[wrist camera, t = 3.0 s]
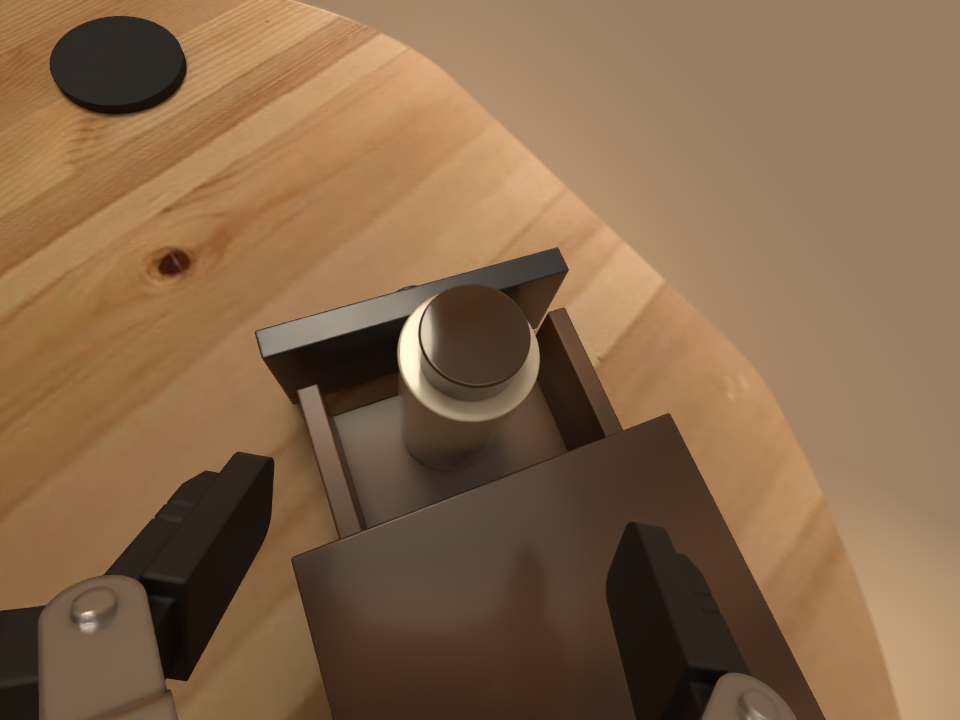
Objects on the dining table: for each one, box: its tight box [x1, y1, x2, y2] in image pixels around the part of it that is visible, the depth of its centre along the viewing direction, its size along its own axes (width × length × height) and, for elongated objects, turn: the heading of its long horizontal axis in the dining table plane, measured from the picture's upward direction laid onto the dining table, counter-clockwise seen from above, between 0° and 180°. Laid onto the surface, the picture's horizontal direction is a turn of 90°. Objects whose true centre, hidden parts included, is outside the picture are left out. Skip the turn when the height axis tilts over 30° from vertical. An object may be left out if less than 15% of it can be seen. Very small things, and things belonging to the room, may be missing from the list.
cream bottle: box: [397, 284, 540, 471], centre depth 20 cm, size 4×4×10 cm
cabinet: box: [291, 413, 826, 720], centre depth 20 cm, size 15×14×8 cm
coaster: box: [50, 16, 186, 113], centre depth 31 cm, size 7×7×1 cm
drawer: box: [255, 248, 623, 539], centre depth 22 cm, size 15×13×6 cm
